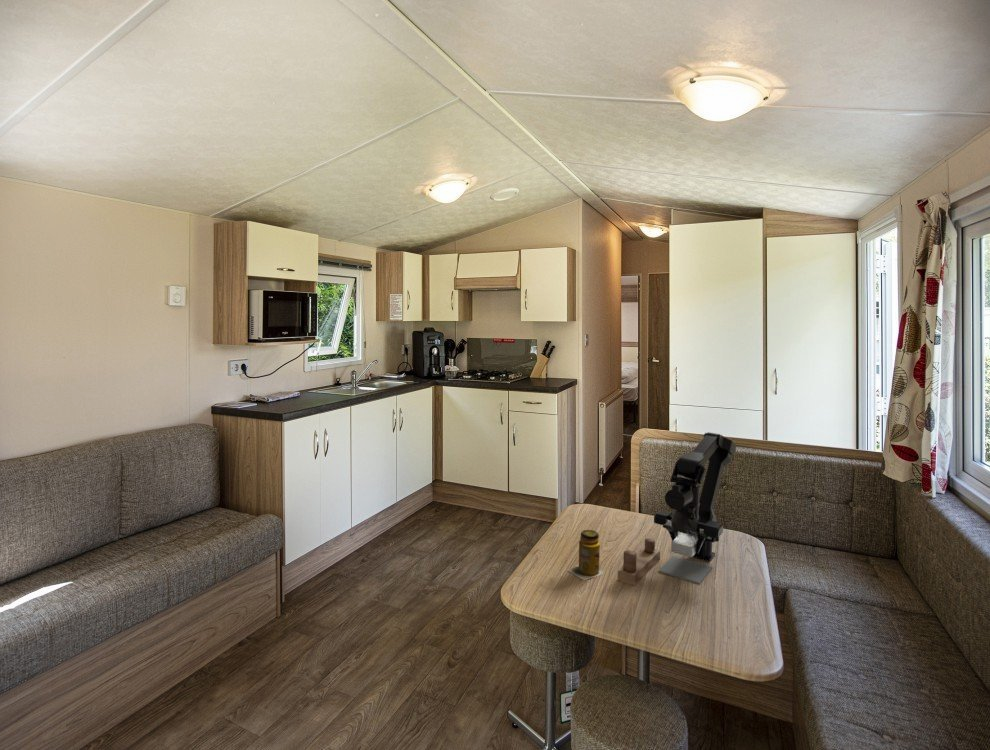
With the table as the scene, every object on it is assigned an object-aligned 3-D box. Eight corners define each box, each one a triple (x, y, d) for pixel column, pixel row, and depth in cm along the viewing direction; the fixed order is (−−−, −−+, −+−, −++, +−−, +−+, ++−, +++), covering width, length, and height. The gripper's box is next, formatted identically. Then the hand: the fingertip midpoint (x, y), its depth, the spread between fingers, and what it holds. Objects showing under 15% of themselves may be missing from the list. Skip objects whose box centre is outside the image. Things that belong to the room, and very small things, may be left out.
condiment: (605, 573, 157) (606, 534, 156) (584, 581, 152) (585, 541, 151) (588, 563, 163) (589, 526, 162) (567, 570, 158) (567, 532, 157)
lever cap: (681, 541, 163) (681, 531, 163) (701, 546, 160) (701, 536, 159) (671, 551, 156) (671, 542, 156) (691, 557, 153) (692, 547, 152)
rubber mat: (672, 557, 167) (672, 555, 167) (712, 568, 160) (712, 567, 160) (658, 572, 158) (658, 570, 157) (699, 584, 150) (699, 582, 150)
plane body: (644, 555, 168) (645, 531, 167) (660, 559, 165) (660, 535, 164) (617, 580, 153) (618, 553, 152) (634, 585, 150) (634, 558, 149)
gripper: (647, 501, 155) (645, 551, 157) (713, 515, 144) (711, 570, 146) (661, 490, 164) (659, 539, 166) (724, 504, 153) (722, 555, 155)
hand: (686, 550), depth 158 cm, fingers closed on lever cap, 6 cm apart
